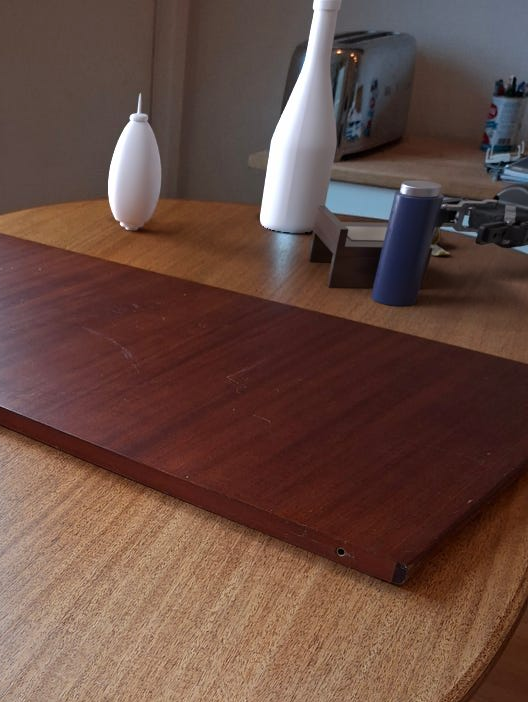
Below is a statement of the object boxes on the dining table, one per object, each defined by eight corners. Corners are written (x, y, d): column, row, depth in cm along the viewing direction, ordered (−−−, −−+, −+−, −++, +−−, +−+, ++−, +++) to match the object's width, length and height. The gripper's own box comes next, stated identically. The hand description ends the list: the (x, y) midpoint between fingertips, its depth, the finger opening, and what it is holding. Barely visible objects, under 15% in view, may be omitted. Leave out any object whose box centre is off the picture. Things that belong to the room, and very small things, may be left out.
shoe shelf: (393, 261, 123) (406, 207, 119) (422, 289, 113) (437, 231, 108) (307, 259, 123) (317, 205, 119) (328, 287, 113) (340, 229, 109)
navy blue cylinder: (408, 293, 111) (437, 179, 103) (421, 306, 107) (453, 189, 99) (365, 292, 111) (391, 179, 103) (377, 305, 107) (405, 188, 99)
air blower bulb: (162, 225, 137) (174, 91, 126) (149, 237, 132) (160, 97, 121) (115, 220, 140) (122, 88, 128) (99, 232, 134) (106, 94, 123)
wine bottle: (263, 217, 142) (298, -12, 124) (323, 223, 140) (367, -11, 121) (254, 231, 135) (289, -10, 117) (317, 237, 133) (363, -9, 114)
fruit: (390, 253, 126) (396, 226, 124) (386, 239, 132) (393, 213, 130) (450, 258, 125) (458, 230, 122) (444, 243, 131) (451, 217, 129)
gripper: (494, 171, 117) (412, 183, 110) (594, 191, 107) (511, 205, 101) (477, 231, 122) (397, 246, 115) (571, 256, 112) (490, 273, 105)
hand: (450, 227), depth 108 cm, fingers open, 8 cm apart
